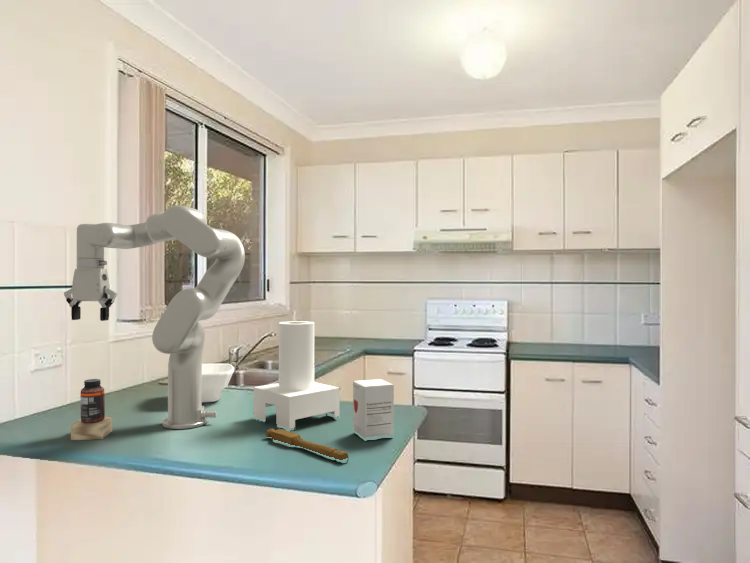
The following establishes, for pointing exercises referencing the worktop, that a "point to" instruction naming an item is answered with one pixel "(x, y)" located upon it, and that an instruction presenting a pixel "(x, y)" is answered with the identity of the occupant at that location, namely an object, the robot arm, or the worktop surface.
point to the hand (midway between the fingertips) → (90, 320)
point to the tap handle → (305, 443)
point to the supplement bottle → (92, 401)
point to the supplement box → (373, 407)
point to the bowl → (215, 380)
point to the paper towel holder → (296, 380)
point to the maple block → (91, 429)
